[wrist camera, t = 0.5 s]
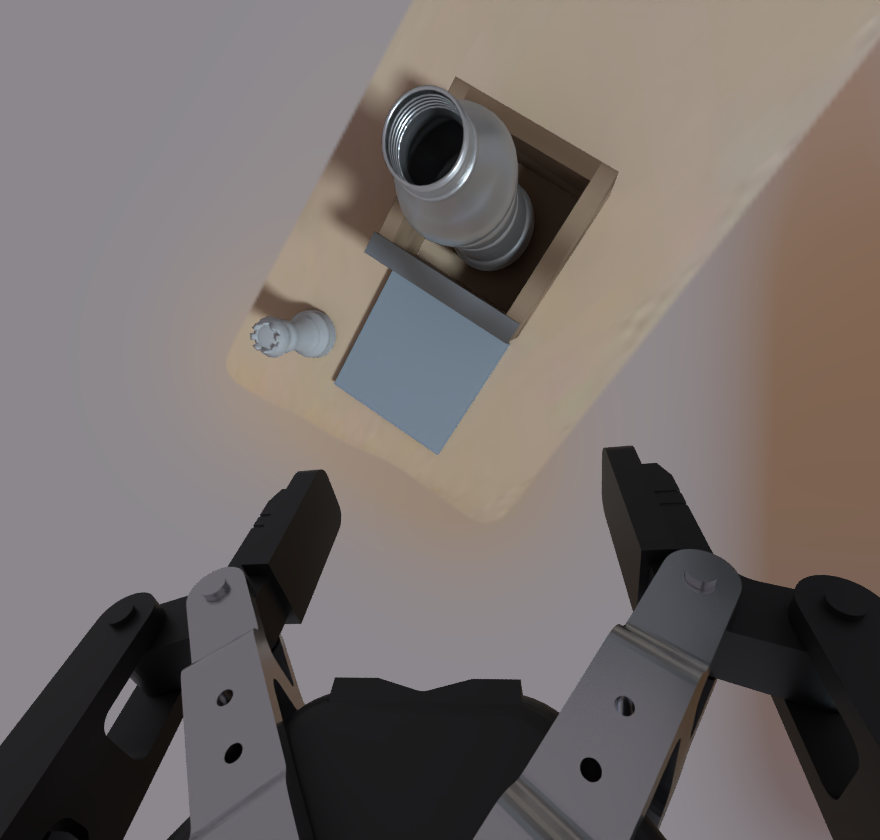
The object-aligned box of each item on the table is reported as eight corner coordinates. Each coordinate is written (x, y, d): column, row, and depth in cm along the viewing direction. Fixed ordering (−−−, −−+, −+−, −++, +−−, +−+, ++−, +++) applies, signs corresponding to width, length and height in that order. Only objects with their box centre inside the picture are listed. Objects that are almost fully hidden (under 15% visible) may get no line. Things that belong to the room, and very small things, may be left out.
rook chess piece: (288, 324, 43) (230, 327, 36) (322, 300, 42) (269, 297, 34) (311, 365, 43) (258, 376, 36) (346, 342, 42) (299, 348, 34)
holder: (473, 115, 35) (452, 70, 28) (609, 195, 34) (620, 167, 27) (396, 262, 39) (364, 252, 33) (516, 339, 38) (506, 344, 31)
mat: (395, 269, 39) (393, 269, 39) (510, 344, 38) (509, 344, 37) (337, 382, 43) (334, 383, 43) (439, 453, 42) (437, 455, 41)
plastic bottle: (454, 271, 38) (345, 228, 19) (461, 184, 36) (350, 42, 17) (530, 276, 36) (495, 234, 18) (541, 185, 35) (515, 32, 16)
